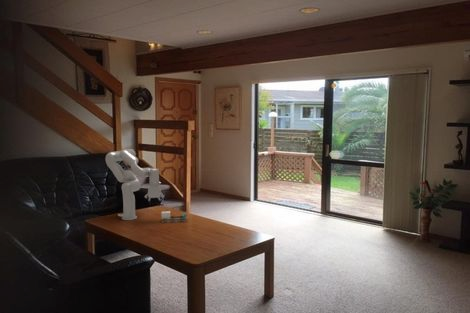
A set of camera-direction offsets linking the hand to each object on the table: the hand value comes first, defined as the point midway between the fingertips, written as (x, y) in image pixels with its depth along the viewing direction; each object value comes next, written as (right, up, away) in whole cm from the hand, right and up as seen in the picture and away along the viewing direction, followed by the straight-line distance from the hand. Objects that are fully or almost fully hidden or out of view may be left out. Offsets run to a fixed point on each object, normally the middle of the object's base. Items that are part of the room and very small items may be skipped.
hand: (154, 205), depth 317 cm
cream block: (+9, -12, +3) cm, 15 cm away
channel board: (+15, -13, +4) cm, 21 cm away
